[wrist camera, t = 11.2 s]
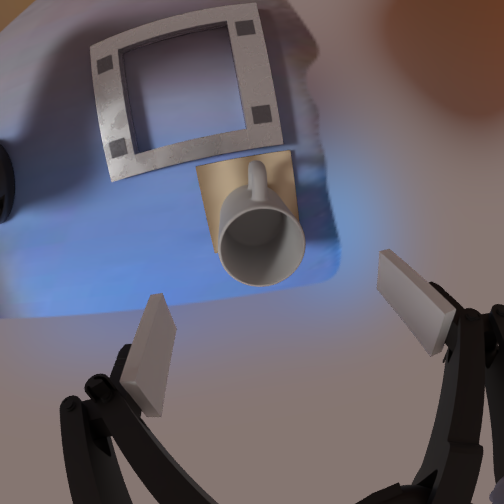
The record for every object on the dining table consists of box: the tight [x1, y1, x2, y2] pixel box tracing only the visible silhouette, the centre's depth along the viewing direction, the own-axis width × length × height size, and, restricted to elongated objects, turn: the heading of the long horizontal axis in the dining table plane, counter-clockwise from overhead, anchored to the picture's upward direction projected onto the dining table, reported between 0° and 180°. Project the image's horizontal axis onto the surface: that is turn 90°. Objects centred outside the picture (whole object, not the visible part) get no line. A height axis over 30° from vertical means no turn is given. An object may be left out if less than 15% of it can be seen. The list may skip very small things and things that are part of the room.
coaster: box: [196, 150, 299, 253], centre depth 35 cm, size 12×12×1 cm
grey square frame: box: [90, 3, 283, 182], centre depth 27 cm, size 22×20×2 cm
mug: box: [218, 160, 305, 287], centre depth 30 cm, size 12×8×11 cm
